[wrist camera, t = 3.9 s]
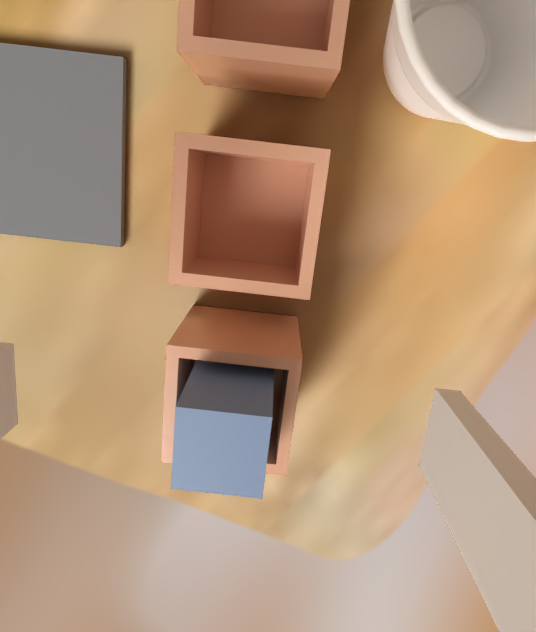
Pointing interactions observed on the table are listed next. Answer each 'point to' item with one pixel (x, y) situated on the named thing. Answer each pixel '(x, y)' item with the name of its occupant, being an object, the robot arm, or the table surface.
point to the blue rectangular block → (223, 429)
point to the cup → (465, 63)
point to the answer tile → (62, 144)
